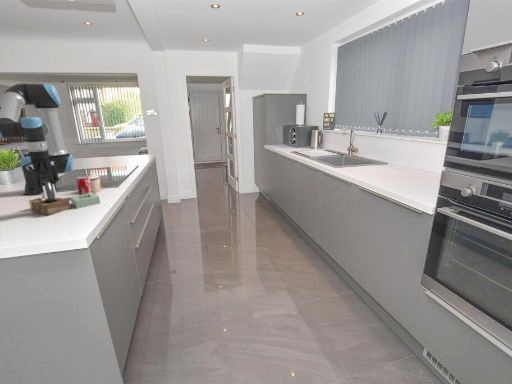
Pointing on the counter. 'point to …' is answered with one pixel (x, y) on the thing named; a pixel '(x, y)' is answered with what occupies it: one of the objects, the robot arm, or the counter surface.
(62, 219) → the counter surface
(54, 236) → the counter surface
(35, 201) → the tan t-shaped block
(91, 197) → the green square frame
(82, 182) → the soda can
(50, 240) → the counter surface
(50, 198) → the dark grey peg
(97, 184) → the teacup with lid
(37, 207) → the socket block
